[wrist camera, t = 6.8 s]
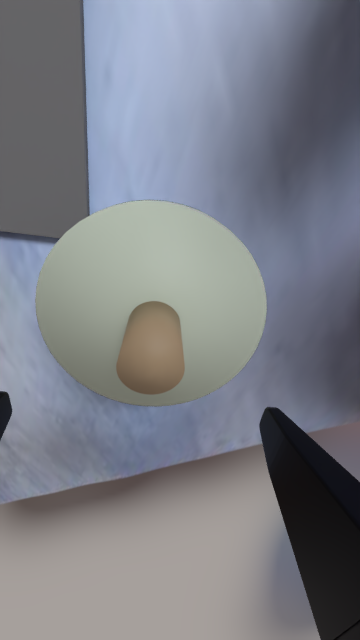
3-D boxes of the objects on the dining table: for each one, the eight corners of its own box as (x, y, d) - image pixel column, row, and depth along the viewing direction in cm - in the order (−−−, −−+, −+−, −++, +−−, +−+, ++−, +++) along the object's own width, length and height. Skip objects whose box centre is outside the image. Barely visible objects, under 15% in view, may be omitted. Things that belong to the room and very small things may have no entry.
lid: (290, 218, 13) (351, 235, 9) (233, 401, 19) (253, 465, 15) (28, 181, 12) (-52, 181, 8) (54, 389, 18) (18, 456, 14)
